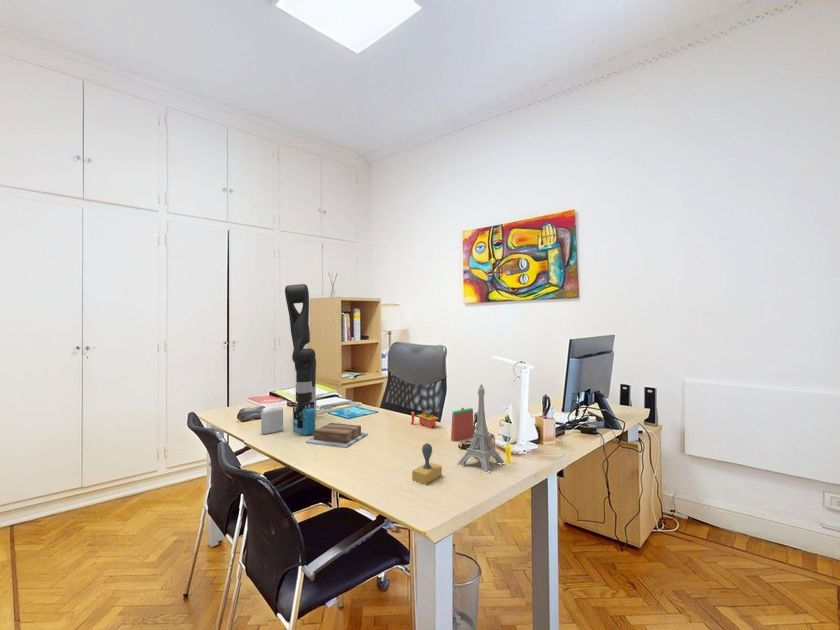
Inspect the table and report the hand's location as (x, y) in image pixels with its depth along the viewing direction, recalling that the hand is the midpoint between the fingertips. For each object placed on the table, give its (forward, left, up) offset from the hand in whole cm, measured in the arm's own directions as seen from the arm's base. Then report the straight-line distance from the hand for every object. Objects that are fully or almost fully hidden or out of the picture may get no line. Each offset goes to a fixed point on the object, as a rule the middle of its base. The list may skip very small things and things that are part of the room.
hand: (303, 426), depth 197 cm
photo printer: (+4, -15, -3) cm, 16 cm away
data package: (0, 0, -3) cm, 3 cm away
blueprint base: (+3, +20, -3) cm, 20 cm away
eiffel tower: (+13, +87, -4) cm, 88 cm away
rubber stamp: (+32, +72, -3) cm, 79 cm away
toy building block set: (-26, +59, -4) cm, 65 cm away
